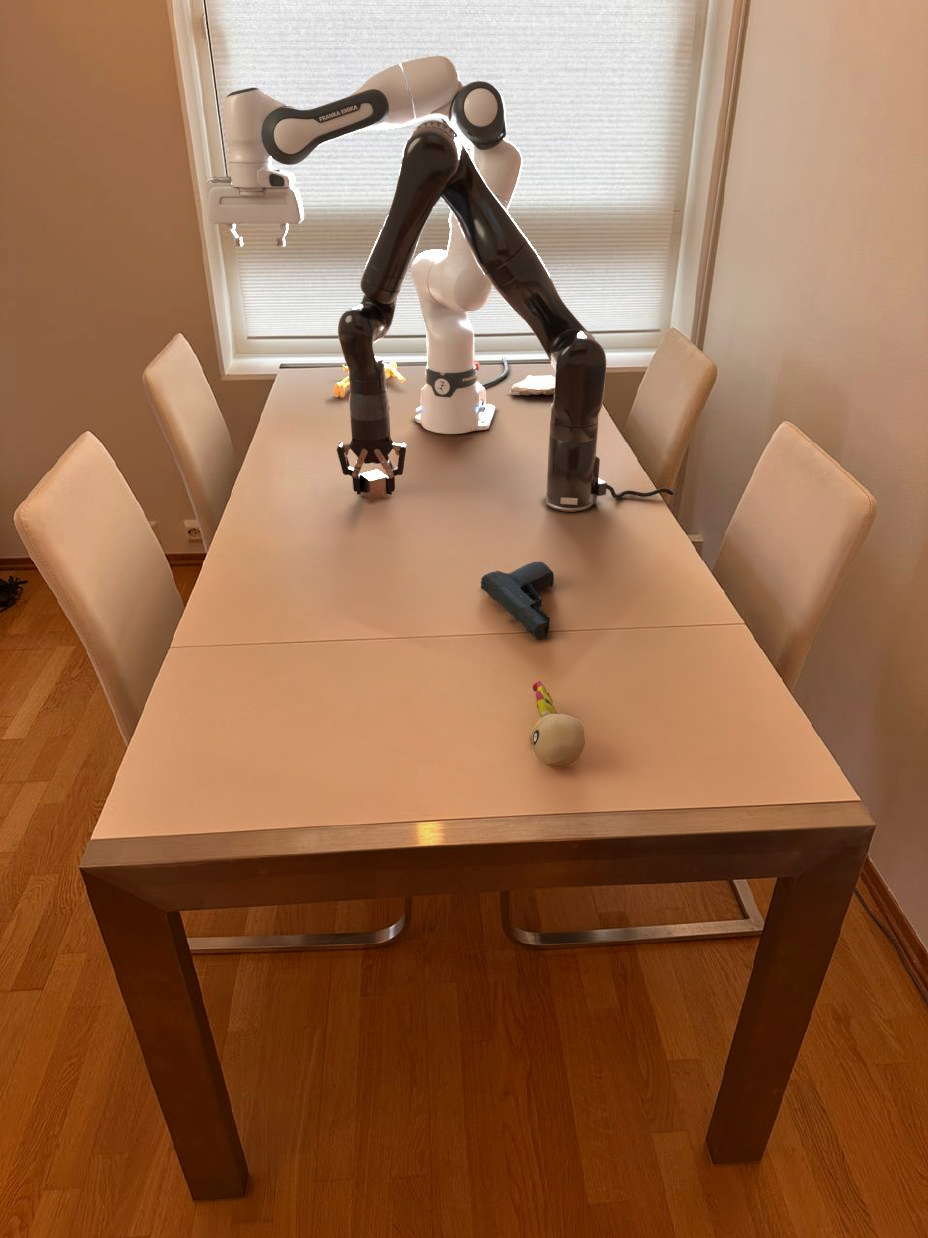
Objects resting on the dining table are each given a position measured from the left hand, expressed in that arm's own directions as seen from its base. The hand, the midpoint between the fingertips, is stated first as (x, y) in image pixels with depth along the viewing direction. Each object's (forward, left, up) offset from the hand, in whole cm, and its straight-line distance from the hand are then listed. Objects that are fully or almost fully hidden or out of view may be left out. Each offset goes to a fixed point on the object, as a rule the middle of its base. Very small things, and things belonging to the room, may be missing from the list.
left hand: (260, 245), depth 197 cm
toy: (+94, +94, -40) cm, 139 cm away
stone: (-44, +52, -40) cm, 79 cm away
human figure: (-34, +8, -40) cm, 53 cm away
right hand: (+32, +40, -40) cm, 65 cm away
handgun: (+63, +83, -40) cm, 112 cm away
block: (+32, +40, -40) cm, 66 cm away
